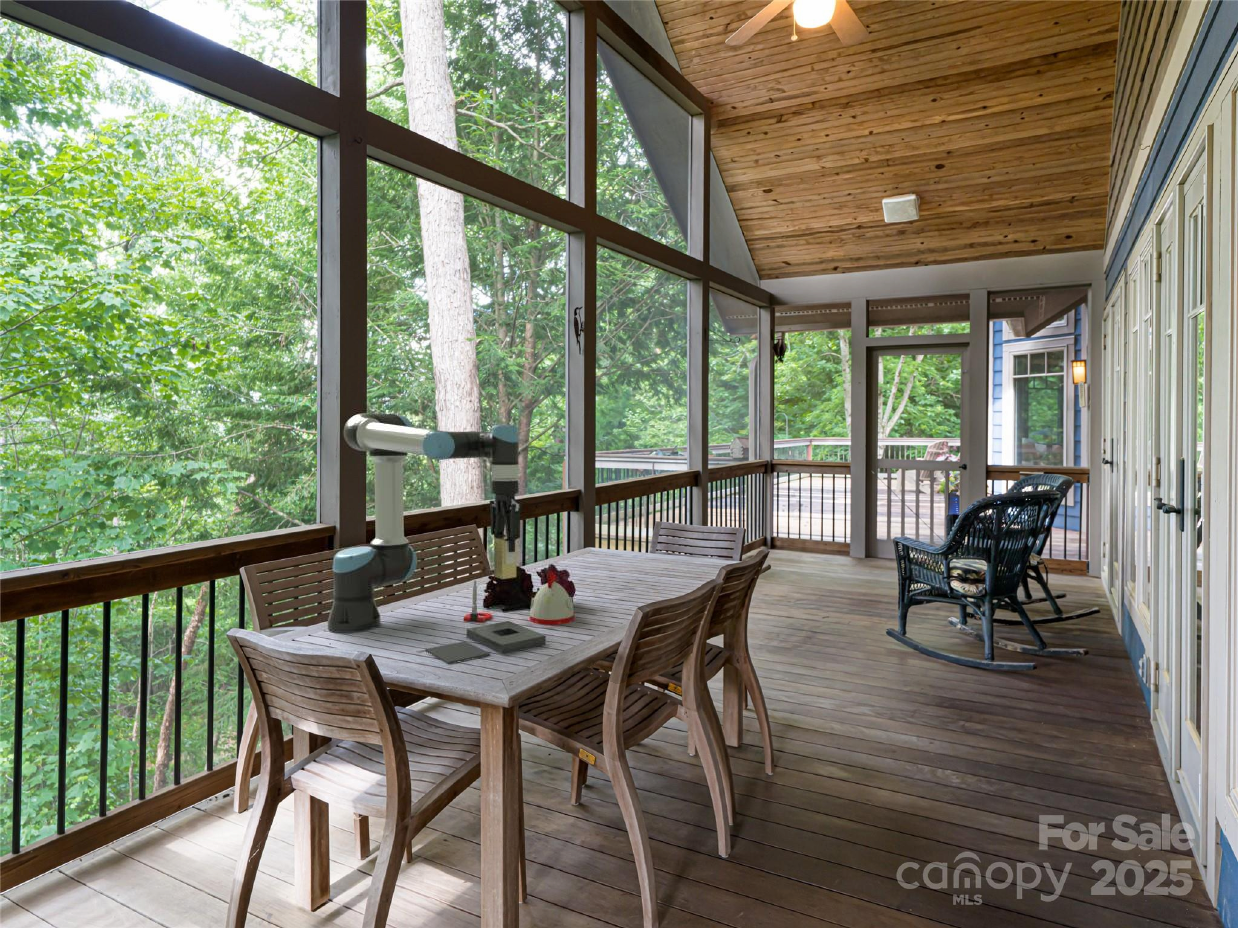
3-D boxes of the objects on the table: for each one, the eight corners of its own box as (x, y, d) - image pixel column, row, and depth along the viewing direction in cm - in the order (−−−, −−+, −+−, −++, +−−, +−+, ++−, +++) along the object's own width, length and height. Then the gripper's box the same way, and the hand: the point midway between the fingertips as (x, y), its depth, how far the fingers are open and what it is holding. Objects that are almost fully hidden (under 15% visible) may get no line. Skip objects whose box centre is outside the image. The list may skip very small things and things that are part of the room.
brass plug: (494, 576, 205) (494, 537, 204) (508, 574, 208) (508, 536, 207) (502, 579, 201) (502, 539, 201) (516, 576, 204) (516, 538, 204)
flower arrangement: (478, 611, 239) (478, 566, 239) (496, 597, 259) (495, 556, 258) (570, 615, 235) (570, 569, 235) (581, 601, 255) (581, 558, 254)
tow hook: (470, 615, 235) (460, 621, 226) (471, 575, 235) (461, 580, 226) (495, 616, 234) (486, 622, 225) (496, 576, 234) (487, 581, 225)
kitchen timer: (524, 624, 224) (524, 575, 223) (536, 612, 237) (536, 567, 237) (568, 625, 222) (568, 577, 221) (577, 614, 235) (577, 568, 235)
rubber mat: (424, 651, 195) (424, 648, 195) (465, 643, 203) (465, 640, 203) (448, 664, 185) (448, 661, 185) (490, 655, 192) (490, 652, 192)
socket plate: (466, 637, 209) (466, 628, 209) (508, 629, 218) (508, 620, 217) (501, 653, 193) (501, 644, 193) (545, 644, 202) (545, 635, 202)
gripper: (533, 481, 199) (533, 565, 200) (501, 477, 213) (501, 556, 214) (509, 482, 194) (509, 568, 195) (478, 478, 208) (478, 559, 209)
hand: (505, 561), depth 204 cm, fingers closed on brass plug, 4 cm apart
